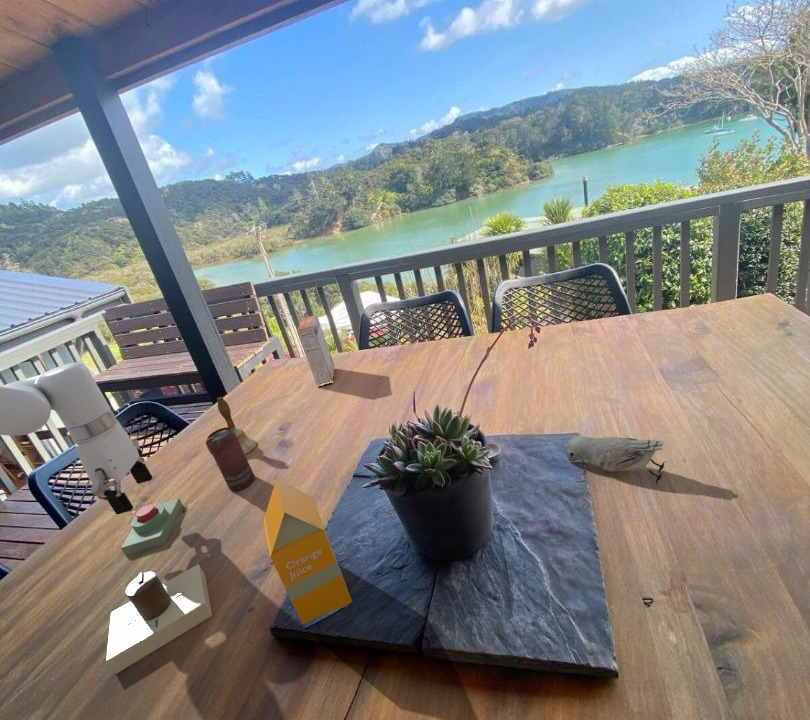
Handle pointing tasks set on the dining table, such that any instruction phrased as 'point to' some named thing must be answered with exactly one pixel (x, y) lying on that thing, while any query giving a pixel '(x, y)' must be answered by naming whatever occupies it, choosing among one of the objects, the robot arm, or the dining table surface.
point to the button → (146, 513)
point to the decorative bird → (615, 453)
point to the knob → (148, 595)
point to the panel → (158, 620)
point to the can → (230, 458)
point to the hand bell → (244, 441)
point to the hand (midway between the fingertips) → (135, 495)
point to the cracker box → (316, 349)
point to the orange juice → (303, 553)
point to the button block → (152, 528)
